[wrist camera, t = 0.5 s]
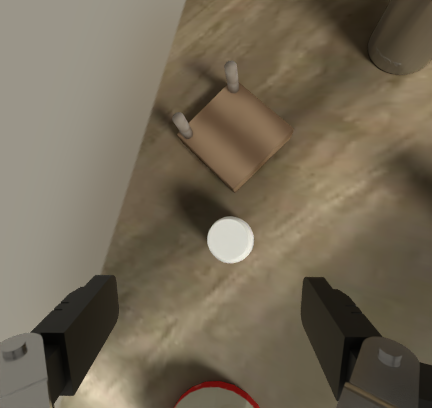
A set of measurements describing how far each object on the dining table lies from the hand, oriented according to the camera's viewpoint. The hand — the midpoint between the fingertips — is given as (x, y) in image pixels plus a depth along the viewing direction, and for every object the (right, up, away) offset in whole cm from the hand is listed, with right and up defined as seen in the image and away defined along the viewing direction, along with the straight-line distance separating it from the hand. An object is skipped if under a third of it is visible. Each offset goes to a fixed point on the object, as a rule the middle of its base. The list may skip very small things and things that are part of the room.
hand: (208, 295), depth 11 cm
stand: (+3, +14, +30) cm, 33 cm away
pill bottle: (+3, -2, +28) cm, 28 cm away
